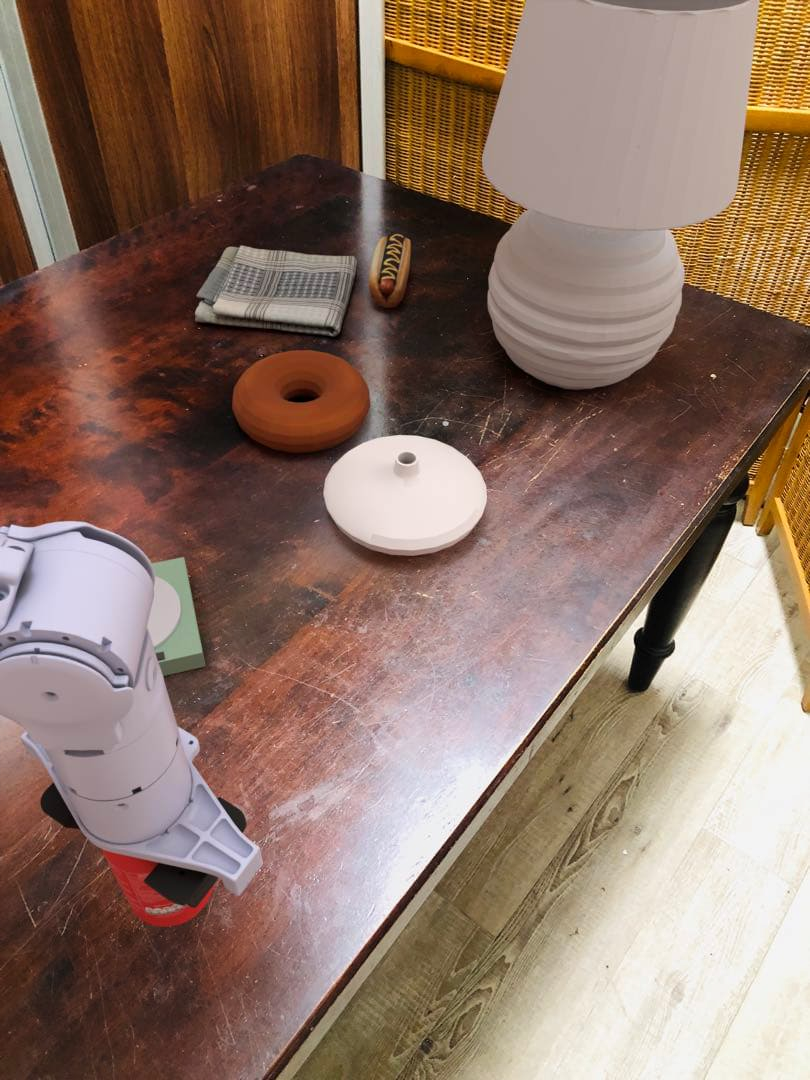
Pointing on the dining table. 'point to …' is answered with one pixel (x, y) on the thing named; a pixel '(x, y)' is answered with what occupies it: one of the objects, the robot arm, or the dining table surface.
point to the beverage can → (148, 892)
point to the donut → (306, 423)
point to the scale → (174, 619)
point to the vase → (405, 495)
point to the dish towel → (278, 291)
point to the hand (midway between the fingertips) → (164, 864)
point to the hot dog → (389, 270)
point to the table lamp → (610, 173)
